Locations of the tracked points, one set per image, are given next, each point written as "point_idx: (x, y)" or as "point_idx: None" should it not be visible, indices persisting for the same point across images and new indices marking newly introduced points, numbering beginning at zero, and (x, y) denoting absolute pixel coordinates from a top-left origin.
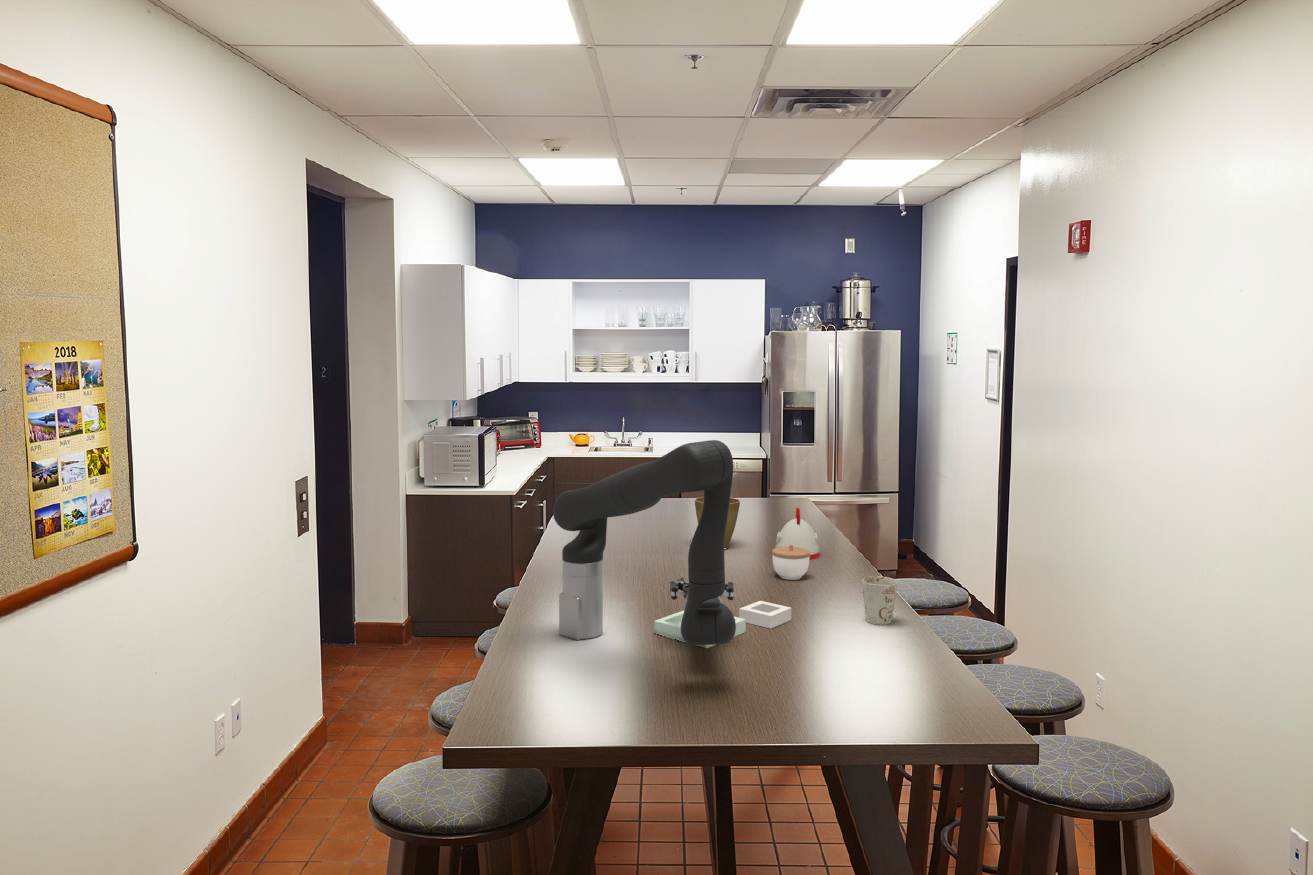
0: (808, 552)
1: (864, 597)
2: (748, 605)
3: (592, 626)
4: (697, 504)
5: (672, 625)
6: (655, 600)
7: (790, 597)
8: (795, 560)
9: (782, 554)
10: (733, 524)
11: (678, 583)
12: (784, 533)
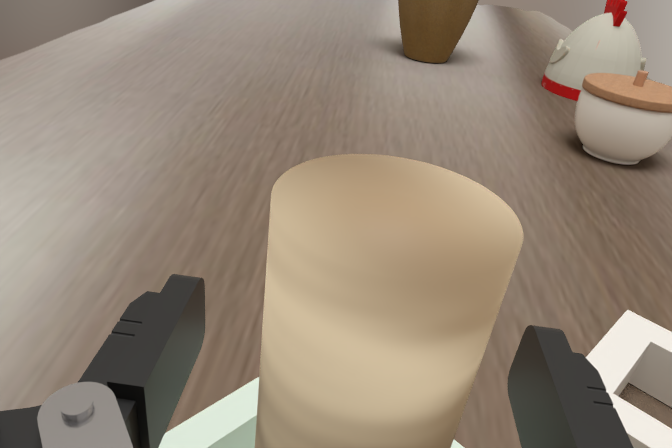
0: None
1: None
2: (593, 355)
3: None
4: None
5: None
6: (216, 211)
7: (665, 248)
8: (656, 117)
9: (623, 95)
10: (469, 13)
11: (40, 441)
12: (579, 43)
